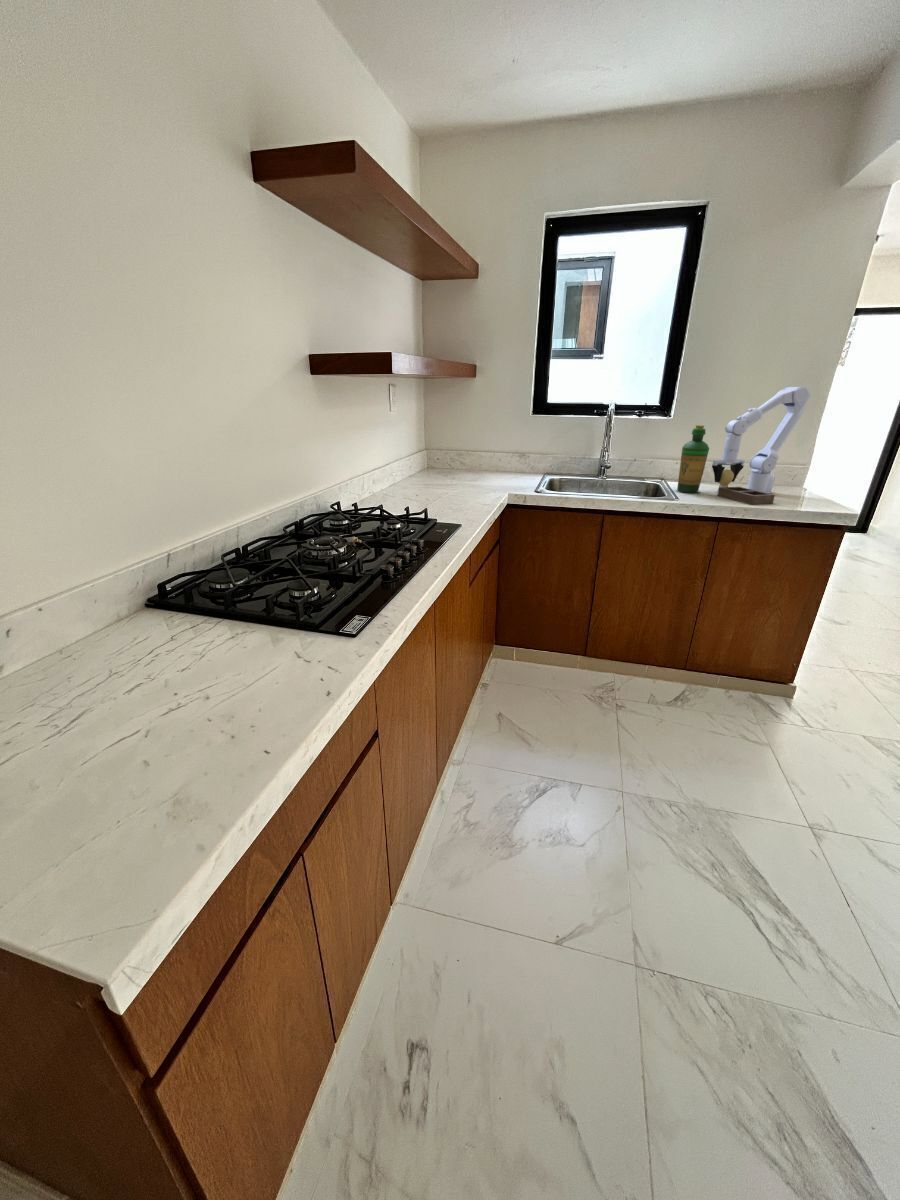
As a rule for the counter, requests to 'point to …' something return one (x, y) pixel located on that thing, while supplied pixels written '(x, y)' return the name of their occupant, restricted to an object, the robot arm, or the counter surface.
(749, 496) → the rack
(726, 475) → the light bulb
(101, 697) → the counter surface
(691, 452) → the bottle
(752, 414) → the robot arm
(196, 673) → the counter surface
